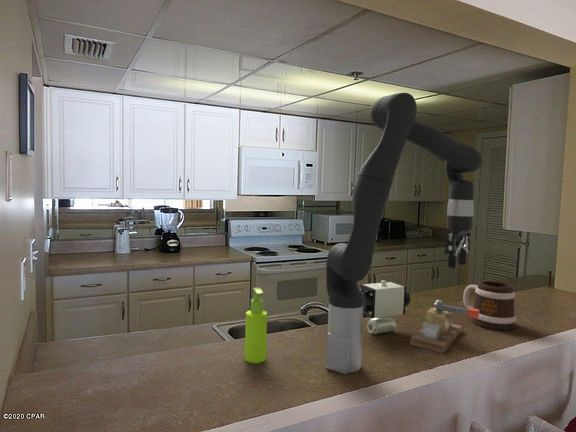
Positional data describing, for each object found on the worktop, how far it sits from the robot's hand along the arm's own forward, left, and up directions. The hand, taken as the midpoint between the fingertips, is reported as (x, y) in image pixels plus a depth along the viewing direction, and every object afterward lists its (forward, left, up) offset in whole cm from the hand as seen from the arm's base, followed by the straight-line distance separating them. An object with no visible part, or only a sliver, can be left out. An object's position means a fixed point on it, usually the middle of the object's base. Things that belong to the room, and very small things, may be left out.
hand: (457, 266), depth 126 cm
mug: (+32, -4, -25) cm, 41 cm away
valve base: (+3, +6, -25) cm, 26 cm away
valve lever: (+3, 0, -16) cm, 16 cm away
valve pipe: (+3, +6, -23) cm, 24 cm away
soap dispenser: (-48, +41, -25) cm, 68 cm away
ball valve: (-4, +23, -25) cm, 34 cm away
